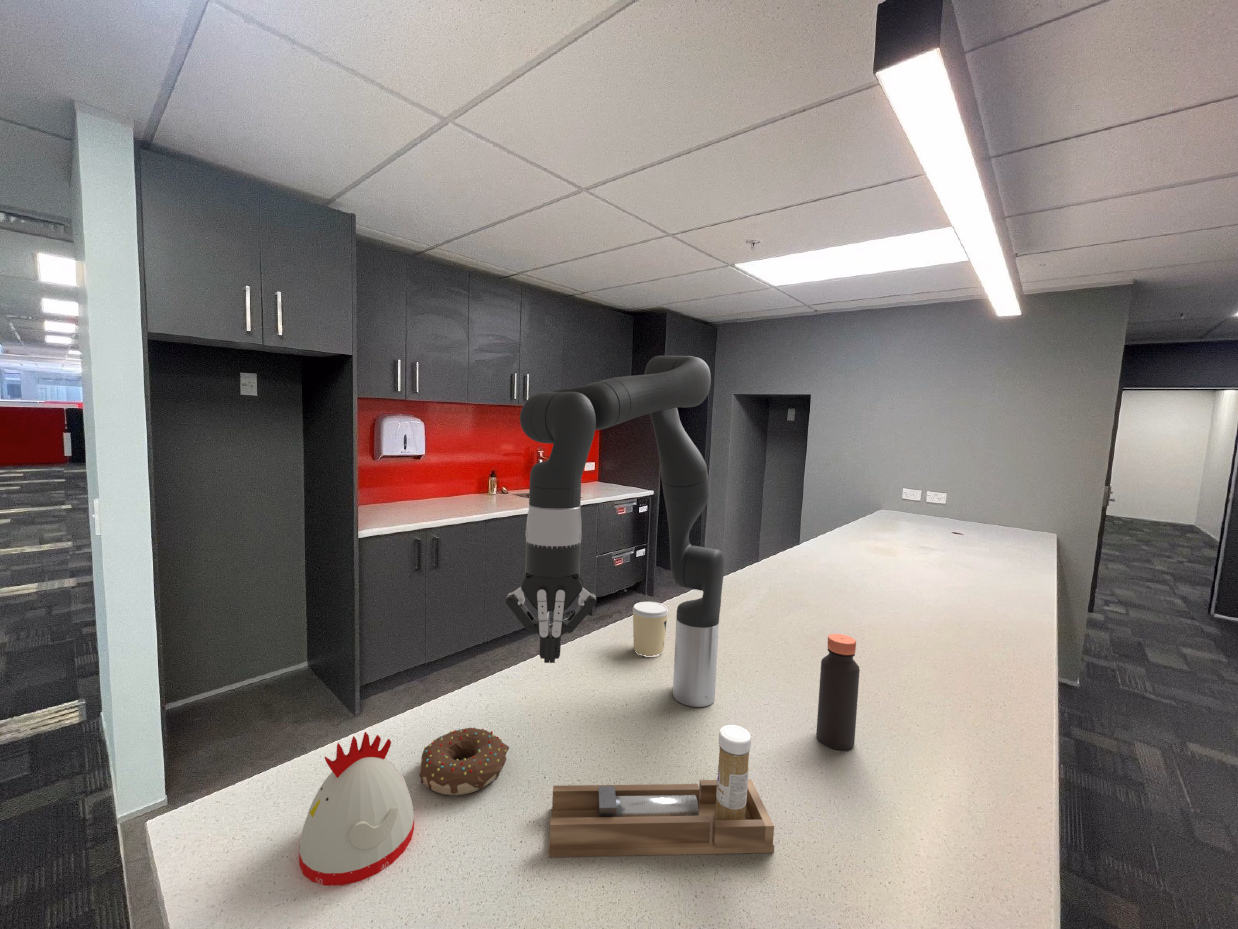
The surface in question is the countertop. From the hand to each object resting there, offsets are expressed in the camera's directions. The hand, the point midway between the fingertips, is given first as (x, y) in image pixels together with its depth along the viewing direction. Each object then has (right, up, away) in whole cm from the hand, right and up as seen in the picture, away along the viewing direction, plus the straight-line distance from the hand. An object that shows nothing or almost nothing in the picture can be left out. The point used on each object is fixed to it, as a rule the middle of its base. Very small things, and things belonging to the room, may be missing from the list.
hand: (549, 660), depth 70 cm
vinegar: (+51, -26, +27) cm, 63 cm away
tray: (+15, -26, +3) cm, 30 cm away
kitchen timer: (-26, -24, -1) cm, 36 cm away
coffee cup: (+17, -22, +63) cm, 69 cm away
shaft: (+14, -24, +2) cm, 28 cm away
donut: (-16, -24, +13) cm, 32 cm away
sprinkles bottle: (+26, -25, +4) cm, 36 cm away
